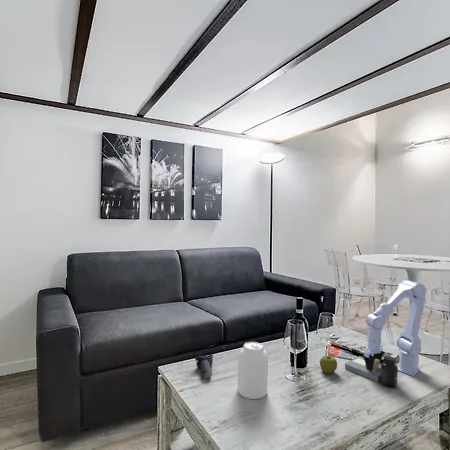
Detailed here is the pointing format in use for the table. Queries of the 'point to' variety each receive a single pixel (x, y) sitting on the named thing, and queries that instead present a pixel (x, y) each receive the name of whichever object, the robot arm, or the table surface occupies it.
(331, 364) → the apple
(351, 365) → the pocket board
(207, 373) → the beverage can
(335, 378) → the table surface
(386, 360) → the supplement bottle
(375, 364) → the beech block
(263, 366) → the can
